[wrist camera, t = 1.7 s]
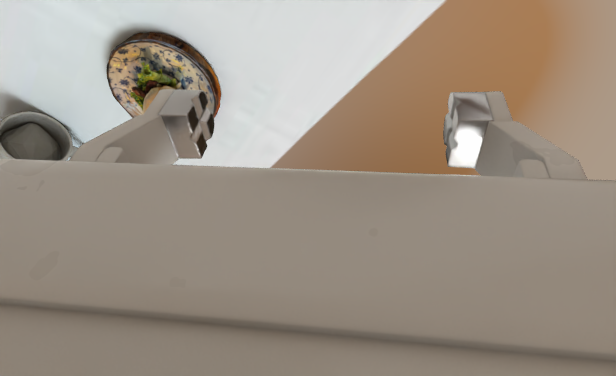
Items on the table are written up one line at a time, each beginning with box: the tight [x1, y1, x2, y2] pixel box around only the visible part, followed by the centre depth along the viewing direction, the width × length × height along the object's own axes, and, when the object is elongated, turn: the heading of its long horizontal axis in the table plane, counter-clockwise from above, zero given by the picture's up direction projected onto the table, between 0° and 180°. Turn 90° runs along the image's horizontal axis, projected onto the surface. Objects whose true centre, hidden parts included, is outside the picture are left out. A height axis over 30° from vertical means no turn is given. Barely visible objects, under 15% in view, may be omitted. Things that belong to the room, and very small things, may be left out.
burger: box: [107, 32, 221, 118], centre depth 42 cm, size 12×12×8 cm
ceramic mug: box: [0, 112, 78, 161], centre depth 51 cm, size 11×8×8 cm
